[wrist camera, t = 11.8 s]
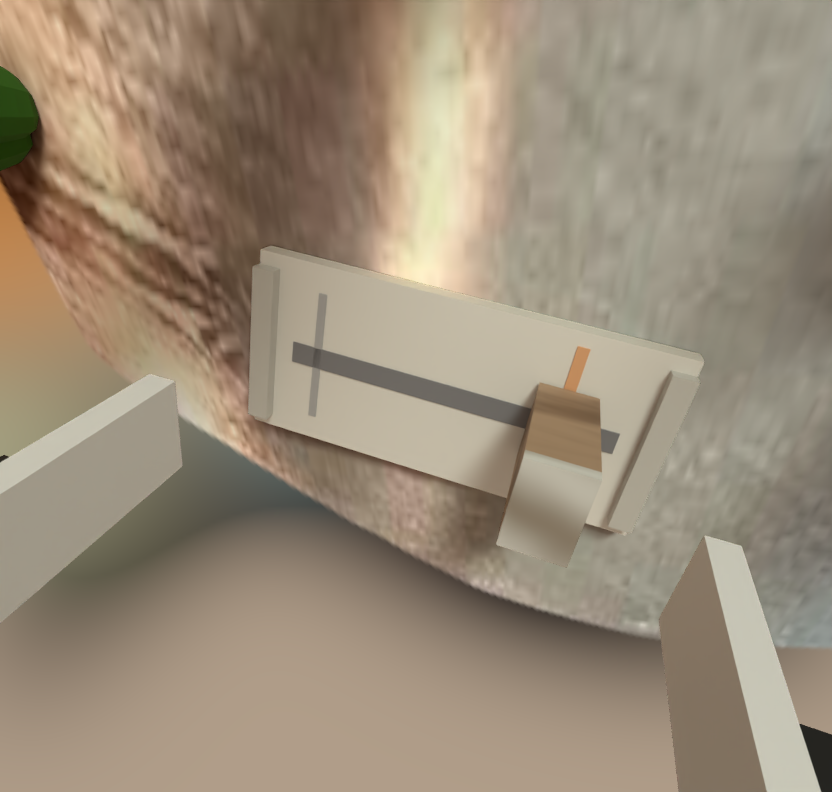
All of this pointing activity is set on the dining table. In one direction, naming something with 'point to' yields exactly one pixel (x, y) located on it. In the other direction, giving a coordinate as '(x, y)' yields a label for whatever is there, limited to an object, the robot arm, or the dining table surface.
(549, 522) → the fader knob
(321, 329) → the slider console
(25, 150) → the bell pepper
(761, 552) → the dining table surface
